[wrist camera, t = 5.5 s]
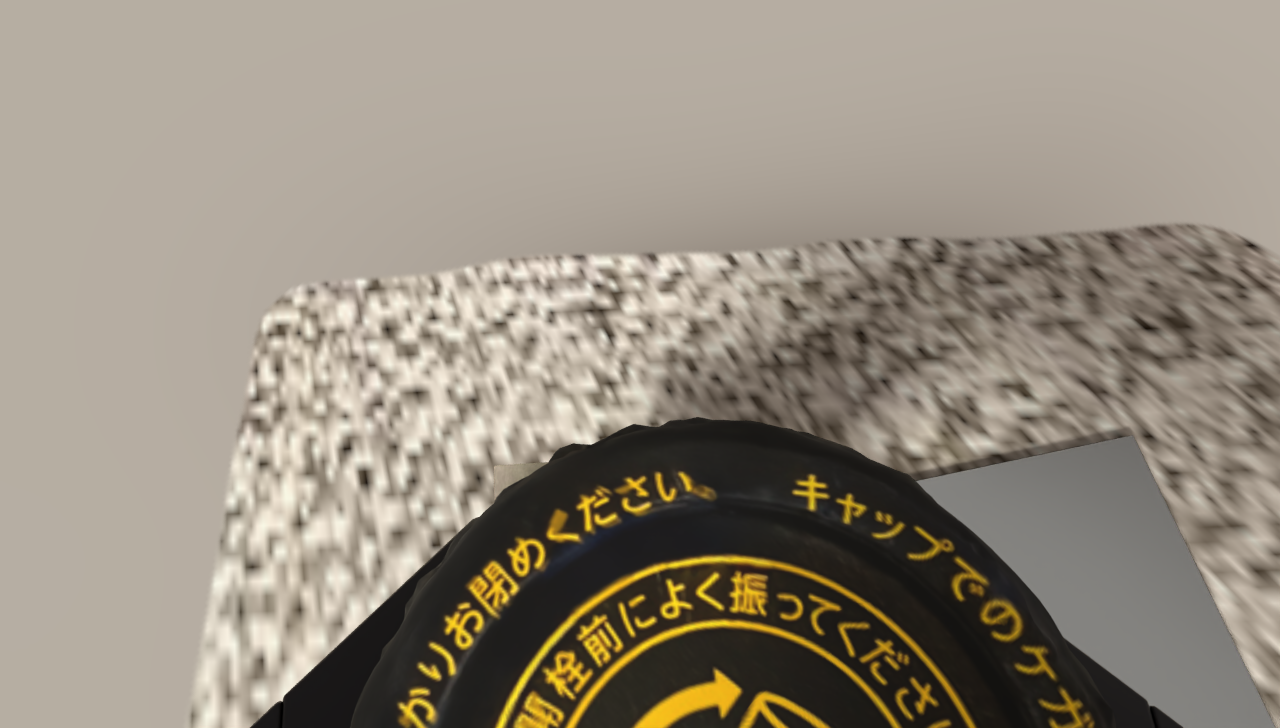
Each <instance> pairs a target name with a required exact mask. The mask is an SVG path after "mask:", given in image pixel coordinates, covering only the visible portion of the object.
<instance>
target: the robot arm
mask: <svg viewBox="0 0 1280 728" xmlns="http://www.w3.org/2000/svg"><path fill="white" fill-rule="evenodd" d="M475 519H476V518H475ZM470 522H471V521H470ZM470 522H469V523H470ZM469 523H468V524H469ZM468 524H467V525H468ZM467 525H466V526H467ZM466 526H465V527H466ZM465 527H464V528H465ZM464 528H463V529H464ZM456 536H457V534H456V535H455V536H454V537H453V538H452V539H451V540H450V541H449V542H448V543H447V544H446V545H445V546H444V547H443V548H441V549H440V550H439V551H438V552H437V553H436V554H435V555H434V556H433V557H432V558H431V559H430V560H429V561H428V562H427V563H425V564H424V565H423V566H422V567H421V568H420V569H419V570H418V571H417V572H416V573H415V574H414V575H413V576H412V577H411V578H409V579H408V580H407V581H406V582H405V583H404V584H403V585H402V586H401V587H400V588H399V589H398V590H397V591H396V592H394V593H393V594H392V595H391V596H390V597H389V598H388V599H387V600H386V601H385V602H384V603H383V604H382V605H381V606H380V607H378V608H377V609H376V610H375V611H374V612H373V613H372V614H371V615H370V616H369V617H368V618H367V619H366V620H365V621H364V622H362V623H361V624H360V625H359V626H358V627H357V628H356V629H355V630H354V631H353V632H352V633H351V634H350V635H349V636H348V637H346V638H345V639H344V640H343V641H342V642H341V643H340V644H339V645H338V646H337V647H336V648H335V649H334V650H333V651H331V652H330V653H329V654H328V655H327V656H326V657H325V658H324V659H323V660H322V661H321V662H320V663H319V664H318V665H317V666H315V667H314V668H313V669H312V670H311V671H310V672H309V673H308V674H307V675H306V676H305V677H304V678H303V679H302V680H301V681H299V682H298V683H297V684H296V685H295V686H294V687H293V688H292V689H291V690H290V691H289V692H288V693H287V694H286V695H285V696H284V698H283V702H282V701H279V702H277V703H276V704H275V705H274V706H272V707H271V708H270V709H269V710H268V711H267V712H266V713H265V714H264V715H263V716H262V717H261V718H260V719H259V720H258V721H256V722H255V723H254V724H253V725H252V726H251V727H250V728H350V727H351V721H352V717H353V714H354V711H355V707H356V705H357V702H358V700H359V698H360V695H361V693H362V691H363V689H364V686H365V684H366V683H367V681H368V679H369V677H370V675H371V673H372V672H373V670H374V668H375V666H376V665H377V664H378V662H379V661H380V659H381V654H382V649H383V648H384V647H385V646H386V645H387V644H388V643H389V641H390V640H391V639H392V638H393V637H394V636H395V634H396V633H397V631H398V630H399V628H400V626H401V625H402V623H403V621H404V616H405V607H406V604H407V602H408V601H409V600H410V598H411V597H412V596H413V594H414V592H415V589H416V586H417V583H418V581H419V580H420V579H421V578H422V577H424V576H425V575H426V574H427V573H429V572H430V571H431V570H433V569H435V568H436V567H437V566H438V565H439V564H440V563H441V562H442V561H443V560H444V558H445V556H446V553H447V551H448V549H449V547H450V545H451V543H452V542H453V540H454V539H455V537H456ZM1063 638H1064V637H1063ZM1064 640H1065V642H1066V644H1067V646H1068V648H1069V650H1070V651H1071V652H1072V653H1073V654H1074V656H1075V657H1076V658H1077V659H1078V660H1079V661H1080V663H1081V664H1082V665H1083V666H1084V667H1085V668H1086V670H1087V671H1088V672H1089V674H1090V676H1091V678H1092V679H1093V681H1094V683H1095V685H1096V686H1097V688H1098V690H1099V691H1100V693H1101V695H1102V697H1103V698H1104V700H1105V701H1106V702H1107V703H1108V705H1109V706H1110V707H1111V708H1112V709H1113V713H1114V717H1115V721H1116V728H1184V727H1183V726H1181V725H1180V724H1179V723H1177V722H1176V721H1175V720H1173V719H1172V718H1171V717H1169V716H1168V715H1167V714H1165V713H1164V712H1163V711H1161V710H1160V709H1159V708H1157V707H1156V706H1149V703H1148V701H1147V700H1146V699H1145V698H1144V697H1142V696H1141V695H1140V694H1138V693H1137V692H1136V691H1134V690H1133V689H1132V688H1130V687H1129V686H1128V685H1126V684H1125V683H1124V682H1122V681H1121V680H1120V679H1118V678H1117V677H1116V676H1114V675H1113V674H1112V673H1110V672H1109V671H1108V670H1106V669H1105V668H1104V667H1102V666H1101V665H1100V664H1098V663H1097V662H1096V661H1094V660H1093V659H1092V658H1090V657H1089V656H1088V655H1086V654H1085V653H1084V652H1082V651H1081V650H1080V649H1078V648H1077V647H1076V646H1074V645H1073V644H1072V643H1070V642H1069V641H1068V640H1066V639H1065V638H1064Z"/></svg>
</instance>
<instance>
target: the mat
mask: <svg viewBox="0 0 1280 728" xmlns="http://www.w3.org/2000/svg"><path fill="white" fill-rule="evenodd" d="M916 482H917V483H918V484H919V485H920V486H921V487H922V488H923V489H924V490H925V491H926V492H927V493H928V494H929V495H930V496H932V497H933V499H934V500H935V501H936V502H937V503H938V504H939V505H940V506H941V507H943V508H944V509H945V510H947V511H948V512H949V513H951V514H952V515H953V516H954V517H956V518H957V519H958V520H959V521H961V522H962V523H963V524H964V525H966V526H967V527H968V528H969V529H970V530H971V531H973V532H974V533H975V534H976V535H977V536H978V537H979V538H980V539H982V540H983V541H984V542H985V543H986V544H987V545H988V546H989V547H990V548H992V550H993V551H994V552H995V553H996V554H997V555H998V556H999V557H1000V558H1001V559H1002V560H1003V561H1004V562H1005V563H1006V564H1007V565H1008V566H1009V567H1010V568H1011V569H1012V570H1013V571H1014V572H1015V573H1016V574H1017V575H1018V576H1019V577H1020V578H1021V580H1022V581H1023V582H1024V583H1025V584H1026V585H1027V586H1028V587H1029V589H1030V590H1031V591H1032V592H1033V593H1034V594H1035V595H1036V596H1037V597H1038V599H1039V600H1040V601H1041V603H1042V604H1043V606H1044V607H1045V608H1046V610H1047V611H1048V613H1049V614H1050V615H1051V617H1052V619H1053V621H1054V622H1055V624H1056V626H1057V627H1058V629H1059V631H1060V633H1061V634H1062V636H1063V637H1064V638H1065V639H1066V640H1068V641H1069V642H1070V643H1072V644H1073V645H1074V646H1076V647H1077V648H1078V649H1080V650H1081V651H1082V652H1084V653H1085V654H1086V655H1088V656H1089V657H1090V658H1092V659H1093V660H1094V661H1096V662H1097V663H1098V664H1100V665H1101V666H1102V667H1104V668H1105V669H1106V670H1108V671H1109V672H1110V673H1112V674H1113V675H1114V676H1116V677H1117V678H1118V679H1120V680H1121V681H1122V682H1124V683H1125V684H1126V685H1128V686H1129V687H1130V688H1132V689H1133V690H1134V691H1136V692H1137V693H1138V694H1140V695H1141V696H1142V697H1144V698H1145V699H1146V700H1147V701H1148V703H1149V706H1156V707H1157V708H1159V709H1160V710H1161V711H1163V712H1164V713H1165V714H1167V715H1168V716H1169V717H1171V718H1172V719H1173V720H1175V721H1176V722H1177V723H1179V724H1180V725H1181V726H1183V727H1184V728H1275V726H1274V724H1273V722H1272V720H1271V718H1270V716H1269V714H1268V711H1267V709H1266V707H1265V705H1264V703H1263V701H1262V699H1261V697H1260V695H1259V693H1258V691H1257V689H1256V687H1255V685H1254V683H1253V681H1252V679H1251V677H1250V675H1249V673H1248V670H1247V668H1246V666H1245V664H1244V662H1243V660H1242V658H1241V656H1240V654H1239V652H1238V650H1237V648H1236V646H1235V644H1234V642H1233V640H1232V638H1231V636H1230V634H1229V632H1228V629H1227V627H1226V625H1225V623H1224V621H1223V619H1222V617H1221V615H1220V613H1219V611H1218V609H1217V607H1216V605H1215V603H1214V601H1213V599H1212V597H1211V595H1210V593H1209V591H1208V588H1207V586H1206V584H1205V582H1204V580H1203V578H1202V576H1201V574H1200V572H1199V570H1198V568H1197V566H1196V564H1195V562H1194V560H1193V558H1192V556H1191V554H1190V552H1189V550H1188V547H1187V545H1186V543H1185V541H1184V539H1183V537H1182V535H1181V533H1180V531H1179V529H1178V527H1177V525H1176V523H1175V521H1174V519H1173V517H1172V515H1171V513H1170V511H1169V509H1168V506H1167V504H1166V502H1165V500H1164V498H1163V496H1162V494H1161V492H1160V490H1159V488H1158V486H1157V484H1156V482H1155V480H1154V478H1153V476H1152V474H1151V472H1150V470H1149V468H1148V465H1147V463H1146V461H1145V459H1144V457H1143V455H1142V453H1141V451H1140V449H1139V447H1138V445H1137V443H1136V441H1135V439H1134V437H1133V435H1132V436H1127V437H1121V438H1117V439H1112V440H1107V441H1102V442H1098V443H1093V444H1088V445H1084V446H1079V447H1074V448H1069V449H1065V450H1060V451H1055V452H1050V453H1046V454H1041V455H1036V456H1031V457H1027V458H1022V459H1017V460H1013V461H1008V462H1003V463H998V464H994V465H989V466H984V467H979V468H975V469H970V470H965V471H960V472H956V473H951V474H946V475H942V476H937V477H932V478H927V479H923V480H918V481H916Z"/></svg>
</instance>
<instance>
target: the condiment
mask: <svg viewBox="0 0 1280 728" xmlns="http://www.w3.org/2000/svg"><path fill="white" fill-rule="evenodd" d="M494 495H495V502H494V504H493V505H492V506H491V507H489V508H488V509H487V510H486V511H485V512H484V513H483V514H482V515H481V516H480V517H478V518H476V519H473V520H472V521H471V522H470V523H469V524H468V525H467V526H466V527H465V528H464V529H462V530H461V531H460V532H459V533H458V534H457V536H456V537H455V539H454V540H453V542H452V543H451V545H450V547H449V549H448V551H447V553H446V556H445V558H444V560H443V561H442V562H441V563H440V564H439V565H438V566H437V567H436V568H435V569H433V570H431V571H430V572H429V573H427V574H426V575H425V576H424V577H422V578H421V579H420V580H419V581H418V583H417V586H416V589H415V592H414V594H413V596H412V597H411V598H410V600H409V601H408V602H407V604H406V607H405V616H404V621H403V623H402V625H401V626H400V628H399V630H398V631H397V633H396V634H395V636H394V637H393V638H392V639H391V640H390V641H389V643H388V644H387V645H386V646H385V647H384V648H383V649H382V654H381V659H380V661H379V662H378V664H377V665H376V666H375V668H374V670H373V672H372V673H371V675H370V677H369V679H368V681H367V683H366V684H365V686H364V689H363V691H362V693H361V695H360V698H359V700H358V702H357V705H356V707H355V711H354V714H353V717H352V721H351V727H350V728H1116V721H1115V717H1114V713H1113V709H1112V708H1111V707H1110V706H1109V705H1108V703H1107V702H1106V701H1105V700H1104V698H1103V697H1102V695H1101V693H1100V691H1099V690H1098V688H1097V686H1096V685H1095V683H1094V681H1093V679H1092V678H1091V676H1090V674H1089V672H1088V671H1087V670H1086V668H1085V667H1084V666H1083V665H1082V664H1081V663H1080V661H1079V660H1078V659H1077V658H1076V657H1075V656H1074V654H1073V653H1072V652H1071V651H1070V650H1069V648H1068V646H1067V644H1066V642H1065V640H1064V638H1063V636H1062V634H1061V633H1060V631H1059V629H1058V627H1057V626H1056V624H1055V622H1054V621H1053V619H1052V617H1051V615H1050V614H1049V613H1048V611H1047V610H1046V608H1045V607H1044V606H1043V604H1042V603H1041V601H1040V600H1039V599H1038V597H1037V596H1036V595H1035V594H1034V593H1033V592H1032V591H1031V590H1030V589H1029V587H1028V586H1027V585H1026V584H1025V583H1024V582H1023V581H1022V580H1021V578H1020V577H1019V576H1018V575H1017V574H1016V573H1015V572H1014V571H1013V570H1012V569H1011V568H1010V567H1009V566H1008V565H1007V564H1006V563H1005V562H1004V561H1003V560H1002V559H1001V558H1000V557H999V556H998V555H997V554H996V553H995V552H994V551H993V550H992V548H990V547H989V546H988V545H987V544H986V543H985V542H984V541H983V540H982V539H980V538H979V537H978V536H977V535H976V534H975V533H974V532H973V531H971V530H970V529H969V528H968V527H967V526H966V525H964V524H963V523H962V522H961V521H959V520H958V519H957V518H956V517H954V516H953V515H952V514H951V513H949V512H948V511H947V510H945V509H944V508H943V507H941V506H940V505H939V504H938V503H937V502H936V501H935V500H934V499H933V497H932V496H930V495H929V494H928V493H927V492H926V491H925V490H924V489H923V488H922V487H921V486H920V485H919V484H918V483H917V482H916V481H915V480H914V479H912V478H911V477H910V476H909V475H908V474H905V473H902V472H899V471H896V470H894V469H892V468H890V467H887V466H885V465H883V464H880V463H878V462H875V461H872V460H870V459H868V458H867V457H865V456H864V455H862V454H861V453H859V452H857V451H855V450H854V449H852V448H849V447H846V446H843V445H840V444H838V443H835V442H832V441H828V440H825V439H822V438H819V437H817V436H814V435H812V434H809V433H806V432H797V431H794V430H792V429H787V428H781V427H776V426H772V425H767V424H764V423H760V422H754V421H730V420H709V419H705V418H699V417H696V418H692V419H688V420H673V421H669V422H667V423H665V424H664V425H662V426H660V427H649V426H642V425H636V424H633V425H630V426H628V427H626V428H623V429H621V430H619V431H618V432H616V433H614V434H612V435H610V436H608V437H607V438H605V439H602V440H600V441H598V442H596V443H594V444H592V445H585V444H574V443H573V444H571V445H568V446H565V447H562V448H560V449H558V450H557V451H556V452H555V454H554V455H553V456H552V458H551V459H550V461H549V462H546V463H526V464H514V465H500V466H494Z"/></svg>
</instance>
